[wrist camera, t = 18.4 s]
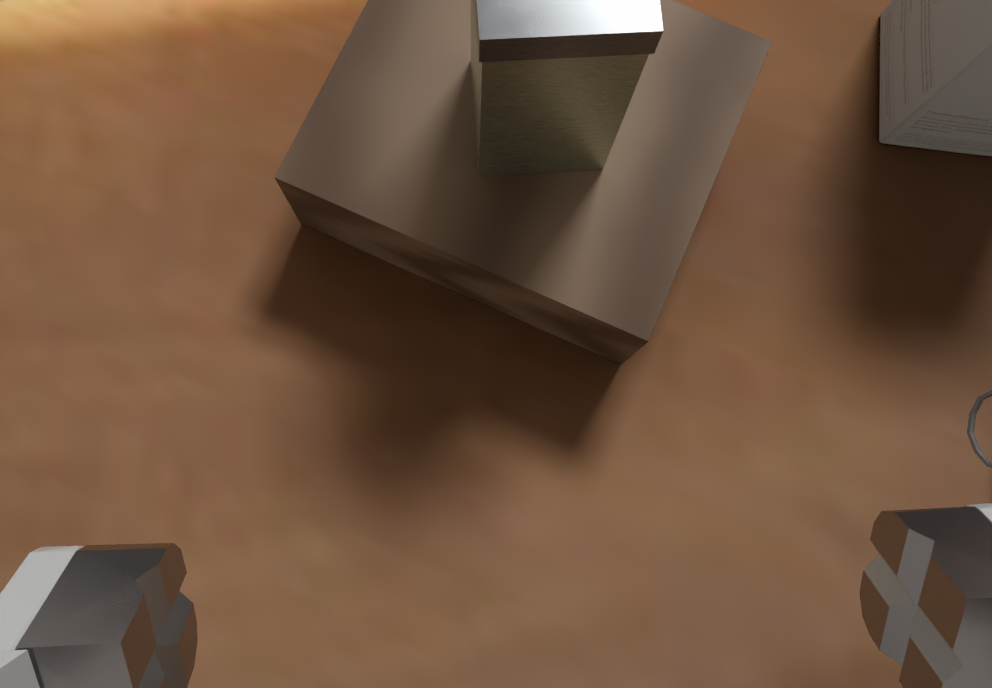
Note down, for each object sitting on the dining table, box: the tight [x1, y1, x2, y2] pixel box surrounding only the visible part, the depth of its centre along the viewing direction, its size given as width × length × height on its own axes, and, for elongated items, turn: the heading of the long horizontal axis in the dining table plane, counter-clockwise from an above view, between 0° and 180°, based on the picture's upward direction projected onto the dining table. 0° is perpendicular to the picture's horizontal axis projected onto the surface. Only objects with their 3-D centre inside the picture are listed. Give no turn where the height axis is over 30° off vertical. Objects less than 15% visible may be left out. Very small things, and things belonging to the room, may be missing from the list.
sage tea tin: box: [471, 0, 663, 176], centre depth 29 cm, size 5×5×10 cm
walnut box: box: [275, 0, 772, 365], centre depth 36 cm, size 16×14×6 cm
